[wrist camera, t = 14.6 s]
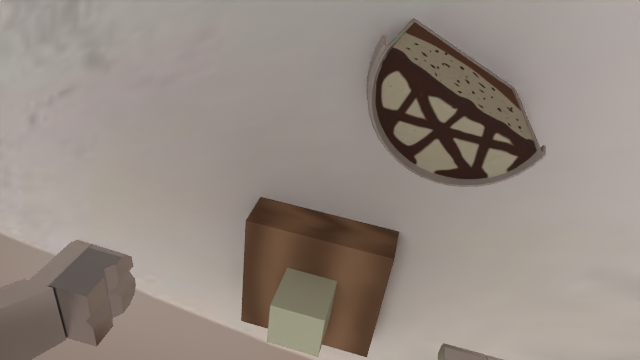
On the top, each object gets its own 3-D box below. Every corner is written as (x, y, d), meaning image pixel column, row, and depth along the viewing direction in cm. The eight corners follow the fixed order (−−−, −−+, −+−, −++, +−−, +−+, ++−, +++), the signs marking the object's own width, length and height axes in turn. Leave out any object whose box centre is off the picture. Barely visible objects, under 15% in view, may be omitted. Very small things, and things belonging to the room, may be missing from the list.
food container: (353, 72, 39) (324, 124, 31) (397, 6, 35) (377, 44, 27) (476, 155, 40) (480, 226, 32) (530, 98, 37) (550, 162, 28)
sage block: (283, 303, 49) (266, 341, 45) (287, 267, 46) (270, 305, 42) (330, 316, 48) (318, 356, 44) (337, 281, 46) (324, 320, 42)
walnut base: (254, 294, 56) (241, 320, 52) (260, 197, 48) (245, 220, 45) (372, 328, 54) (366, 357, 50) (398, 232, 46) (394, 259, 43)
